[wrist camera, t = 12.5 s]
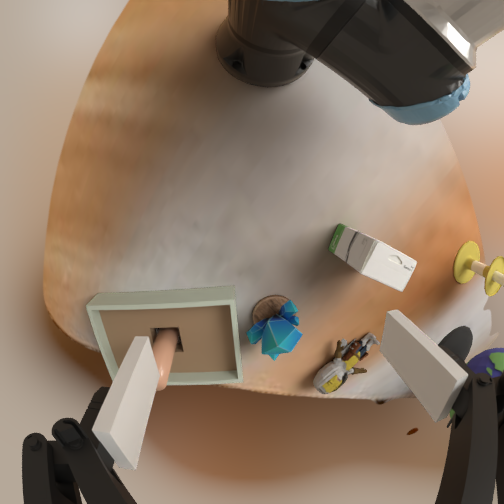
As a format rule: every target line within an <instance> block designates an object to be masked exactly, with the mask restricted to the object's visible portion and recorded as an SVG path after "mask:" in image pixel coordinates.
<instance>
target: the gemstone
mask: <svg viewBox="0 0 504 504" xmlns="http://www.w3.org/2000/svg"><path fill="white" fill-rule="evenodd" d="M296 312H298V309H297V308H296V306H295V305H294V303H293V302H292V301H291V300H289V299H287V298H286V297H283V296H279V295H272V296H268V297H265V298H263V299H262V300H260V301H259V302H258V303H257V304H256V306H255V307H254V310H253V314H252V318H253V323H254V326H253V327H252V328H251V329H250V330H249V331H248V332H246V334H247V336H248V338H249V341H250V343H251V344H256V343H257V342H258V341H259V340H260V339H261V338H262V354H267V355H269V356H270V357H271V358H272V359H273V360H274V361H275V360H276V358H277V357H278V355H279V354H281V353H288V352H291V351H292V350H293V348H294V347H295V345H296V344H297V342H298V341H299V339H300V338H301V336H302V335H303V334H302V333H301V332H300V331H299V330H298V329H297V328H295V327H294V326H293V325H296V326H298V325H299V318H298V317H296V316H295V313H296Z"/></svg>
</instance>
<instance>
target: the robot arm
mask: <svg viewBox="0 0 504 504" xmlns="http://www.w3.org/2000/svg"><path fill="white" fill-rule="evenodd" d="M502 30H504V0H228V16H227V17H226V19H225V20H224V21H223V23H222V24H221V26H220V27H219V30H218V32H217V36H216V51H217V55H218V58H219V60H220V62H221V64H222V65H223V67H224V68H225V69H226V70H227V71H228V72H229V73H230V74H231V75H233V76H234V77H236V78H237V79H239V80H241V81H243V82H246V83H249V84H252V85H256V86H263V87H275V86H281V85H285V84H288V83H291V82H293V81H295V80H297V79H298V78H300V77H301V76H302V75H303V74H304V73H305V72H306V71H307V70H308V68H309V67H310V66H311V64H312V62H313V60H314V58H317V60H318V61H320V62H321V63H323V64H324V65H325V66H327V67H328V68H330V69H331V70H333V71H334V72H335V73H337V74H338V75H340V76H341V77H342V78H344V79H345V80H346V81H348V82H349V83H350V84H351V85H353V86H354V87H355V88H357V89H358V90H359V91H360V92H362V93H363V94H364V95H365V96H366V97H368V98H369V101H370V102H371V103H373V104H374V105H375V106H377V107H380V108H381V109H383V110H384V111H385V112H386V113H387V114H389V115H390V116H391V117H392V118H393V119H395V120H396V121H398V122H401V123H405V124H408V125H421V124H426V123H430V122H433V121H436V120H438V119H440V118H442V117H444V116H446V115H448V114H449V113H451V112H452V111H453V110H455V109H456V108H457V107H458V106H459V105H460V104H459V101H461V100H464V99H465V98H466V96H467V95H468V93H469V89H470V81H469V77H468V74H467V73H469V72H470V71H472V70H473V69H475V68H476V50H477V47H479V46H480V45H482V44H483V43H485V42H486V41H487V40H489V39H490V38H492V37H493V36H495V35H496V34H498V33H499V32H501V31H502ZM380 352H381V353H382V354H383V355H384V357H385V358H386V359H387V360H388V362H389V363H390V364H391V365H392V367H393V368H394V369H395V370H396V372H397V373H398V374H399V375H400V377H401V378H402V379H403V381H404V382H405V383H406V384H407V386H408V387H409V388H410V390H411V391H412V392H413V394H414V395H415V396H416V397H417V399H418V400H419V401H420V403H421V404H422V405H423V407H424V408H425V409H426V410H427V412H428V413H429V415H430V416H431V417H432V418H433V420H434V421H435V422H438V421H440V420H442V419H444V418H446V417H447V416H448V414H449V412H450V410H451V409H453V411H454V412H455V413H454V414H453V416H452V418H451V420H450V421H449V423H448V425H447V428H448V427H449V426H450V424H451V423H452V426H451V434H450V440H449V447H448V452H447V458H446V463H445V467H444V472H443V477H442V480H441V485H440V489H439V492H438V495H437V499H436V502H435V504H492V501H493V494H494V488H495V479H496V484H497V496H498V504H504V370H503V372H502V374H501V376H498V377H494V378H492V377H491V376H490V375H488V374H486V373H477V374H475V373H474V372H473V371H472V370H471V369H470V368H469V367H468V366H467V365H466V364H465V363H464V362H463V361H461V360H459V358H458V357H457V356H456V355H454V353H453V352H452V351H451V350H450V349H448V348H446V347H444V346H442V345H439V346H438V345H437V344H436V343H435V342H434V341H432V340H431V339H430V338H429V337H428V336H427V335H426V334H425V333H424V332H423V331H421V330H420V329H419V328H418V327H417V326H416V325H415V324H414V323H412V322H411V321H410V320H409V319H408V318H407V317H406V316H405V315H403V314H402V313H401V312H400V311H399V310H398V309H397V310H392V311H387V314H386V320H385V326H384V331H383V336H382V341H381V346H380ZM159 377H160V374H159V371H158V368H157V364H156V361H155V358H154V354H153V351H152V348H151V344H150V340H149V337H148V336H135V338H134V340H133V342H132V344H131V346H130V348H129V350H128V352H127V354H126V356H125V358H124V360H123V362H122V364H121V366H120V368H119V370H118V372H117V374H116V376H115V379H114V381H113V383H112V385H111V387H110V388H109V387H101V388H100V389H99V390H98V391H97V392H96V393H95V394H94V396H93V398H92V400H91V403H90V404H89V406H88V409H87V410H86V412H85V414H84V416H83V418H82V420H81V423H80V424H79V423H78V422H77V421H76V420H75V419H73V418H63V419H60V420H59V421H57V422H56V423H55V424H54V425H53V428H52V435H53V437H54V438H55V439H56V441H47V439H46V438H45V437H44V436H43V435H42V434H40V433H32V434H30V435H28V436H27V437H26V438H25V439H24V442H23V449H22V451H23V452H22V479H23V496H24V504H82V501H81V497H80V492H79V488H80V491H81V493H82V494H83V497H84V498H85V500H86V502H87V504H137V503H136V502H135V500H134V499H133V497H132V496H131V495H130V493H129V492H128V490H127V489H126V487H125V486H124V484H123V483H122V481H121V480H120V479H119V477H118V475H117V474H116V472H115V470H114V469H113V464H114V461H115V463H116V464H117V465H118V466H119V468H125V469H131V470H136V468H137V463H138V459H139V454H140V450H141V446H142V442H143V438H144V433H145V430H146V425H147V421H148V418H149V414H150V410H151V406H152V403H153V399H154V395H155V392H156V388H157V384H158V381H159ZM78 486H79V487H78Z"/></svg>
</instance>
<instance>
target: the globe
mask: <svg viewBox="0 0 504 504" xmlns="http://www.w3.org/2000/svg"><path fill="white" fill-rule="evenodd" d="M472 340H473V335H472V332H471V330H470V328H468V327H466V326H461V327H458V328H456V329H454V330H453V331H451V332H450V333H449V334H448V335H447V336H445V337H444V339H443V340H442V341H441V342H440V343H439V344H438V346H439V345H442V346H444V347H446V348H448V349H450V350H451V351H452V352H453V353H454V355H456V356H457V357H458V358H459V360H461V361H463V362H464V360H465V359H466V357H467V355H468V353H469V351H470V348H471V345H472ZM464 363H465V362H464ZM465 364H466V363H465ZM466 365H467V366H468V367H469V368H470V369H471V370H472V371H473V372H474V373H475V374H477V373H486V374H488V375H490V376H491V377H492V378H494V377H498V376H501V374H502V372H503V370H504V348H493V349H489V350H485V351H483V352H482V353H480V354H478V355H476V356H475V357H474V358H472V359H471V360H470V361H469V362H468V363H467V364H466ZM454 413H455V412H454V411H453V409H451V410H450V417H451V418H452V416H453V414H454Z"/></svg>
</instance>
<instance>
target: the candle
mask: <svg viewBox="0 0 504 504" xmlns="http://www.w3.org/2000/svg"><path fill="white" fill-rule="evenodd" d="M479 260H480V251H479V248H478V245H477V244H476V243H475V242H474V241H468V242H466V243H465V244H463V245H462V247H461V248H460V249H459V251H458V253H457V256H456V258H455V262H454V267H453V268H454V277H455V279H456V281H457V282H459V283H466V282H468V281H469V280H470V279H471V278H472V277H473V276H474V274H475V273H477V274H479V275H481V276H483V277H485V278H486V279H485V288H484V289H485V292H486V294H487V295H488V296H493V295H495V294H496V293H497V292H498V290H499V289H500V287H501V286H504V258H503V257H502V256H498V257H497V258H495V259H494V260H493V262H492V263H491V265H490V267H489V266H487V265H485V264H483V263H481V262H479Z"/></svg>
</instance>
